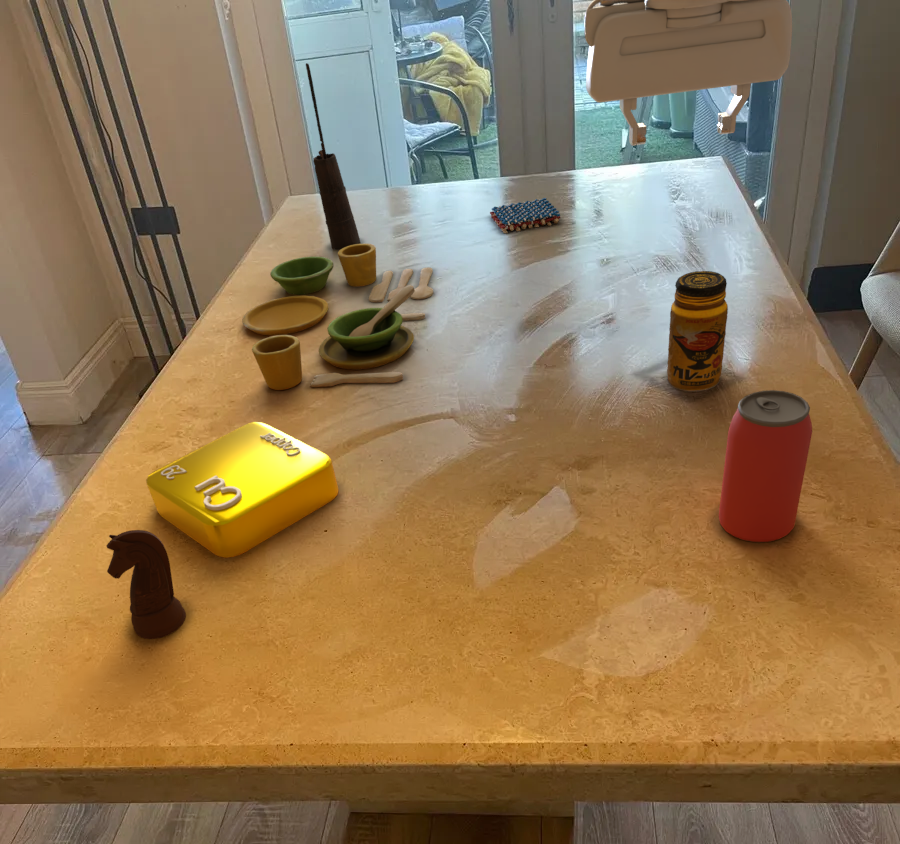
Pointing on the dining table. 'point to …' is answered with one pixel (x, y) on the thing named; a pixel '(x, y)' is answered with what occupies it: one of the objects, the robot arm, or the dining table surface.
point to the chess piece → (147, 583)
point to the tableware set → (334, 321)
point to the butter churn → (333, 192)
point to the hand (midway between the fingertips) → (681, 138)
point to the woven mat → (524, 215)
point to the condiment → (697, 331)
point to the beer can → (765, 465)
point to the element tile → (243, 488)
